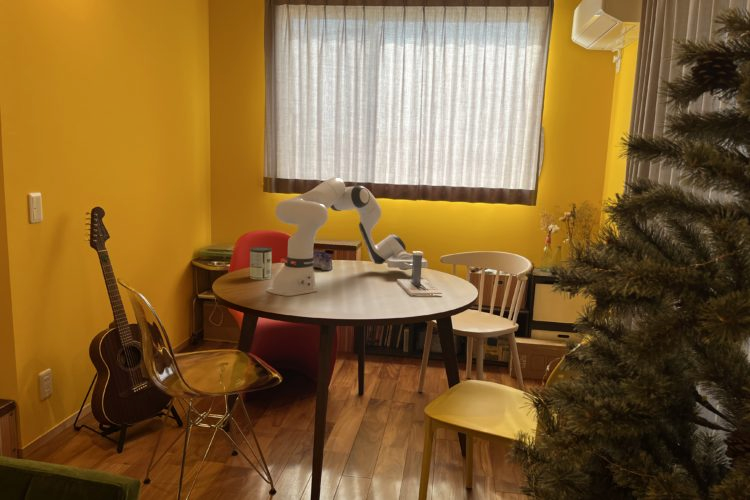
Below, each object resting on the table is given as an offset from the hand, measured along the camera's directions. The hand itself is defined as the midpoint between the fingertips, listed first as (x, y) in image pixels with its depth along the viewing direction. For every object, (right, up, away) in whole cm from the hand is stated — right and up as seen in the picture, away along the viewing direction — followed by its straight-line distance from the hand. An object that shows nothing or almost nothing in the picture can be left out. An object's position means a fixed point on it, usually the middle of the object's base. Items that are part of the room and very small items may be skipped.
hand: (410, 266), depth 274 cm
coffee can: (-72, -5, -7) cm, 72 cm away
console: (+3, -10, -15) cm, 18 cm away
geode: (-46, -2, +25) cm, 52 cm away
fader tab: (+2, -9, -10) cm, 14 cm away
